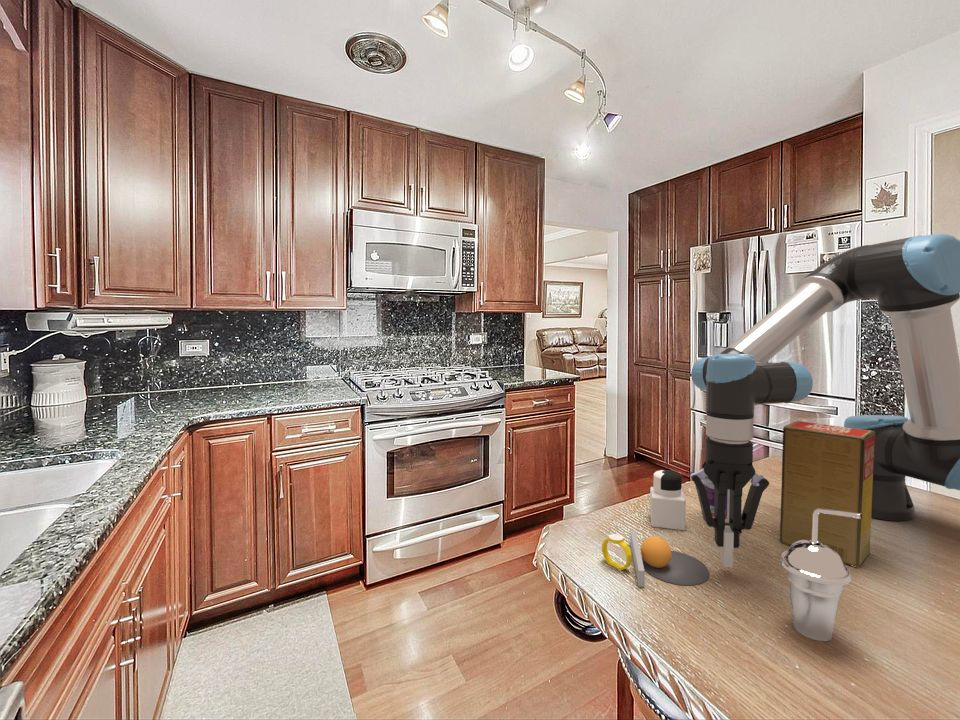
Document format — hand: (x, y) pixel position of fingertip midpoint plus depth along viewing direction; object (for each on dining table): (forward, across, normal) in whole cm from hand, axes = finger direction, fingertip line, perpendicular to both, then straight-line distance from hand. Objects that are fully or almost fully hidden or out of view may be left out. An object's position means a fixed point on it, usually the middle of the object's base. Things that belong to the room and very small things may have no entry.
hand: (726, 562), depth 81 cm
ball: (-1, +12, 0) cm, 12 cm away
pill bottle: (+2, -6, -25) cm, 26 cm away
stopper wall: (+2, +16, 0) cm, 16 cm away
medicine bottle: (+2, +7, -20) cm, 21 cm away
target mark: (+2, +9, 0) cm, 9 cm away
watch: (+2, +20, +2) cm, 20 cm away
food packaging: (+2, -22, -14) cm, 26 cm away
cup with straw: (+2, -8, +14) cm, 17 cm away
